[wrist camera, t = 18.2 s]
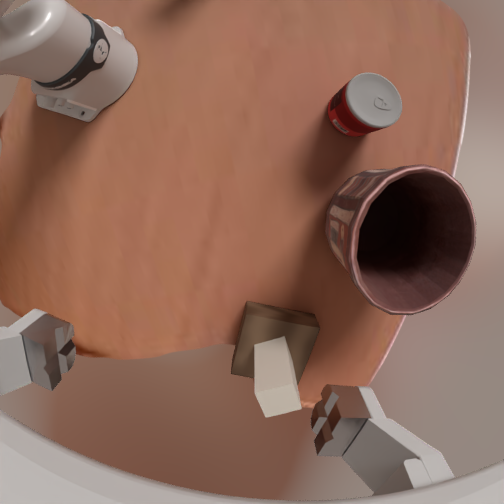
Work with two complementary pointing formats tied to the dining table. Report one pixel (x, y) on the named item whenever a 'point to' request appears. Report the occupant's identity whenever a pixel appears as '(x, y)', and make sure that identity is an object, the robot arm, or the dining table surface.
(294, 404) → the cream block
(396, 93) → the canned food
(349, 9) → the dining table surface
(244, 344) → the walnut block
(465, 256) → the pottery
